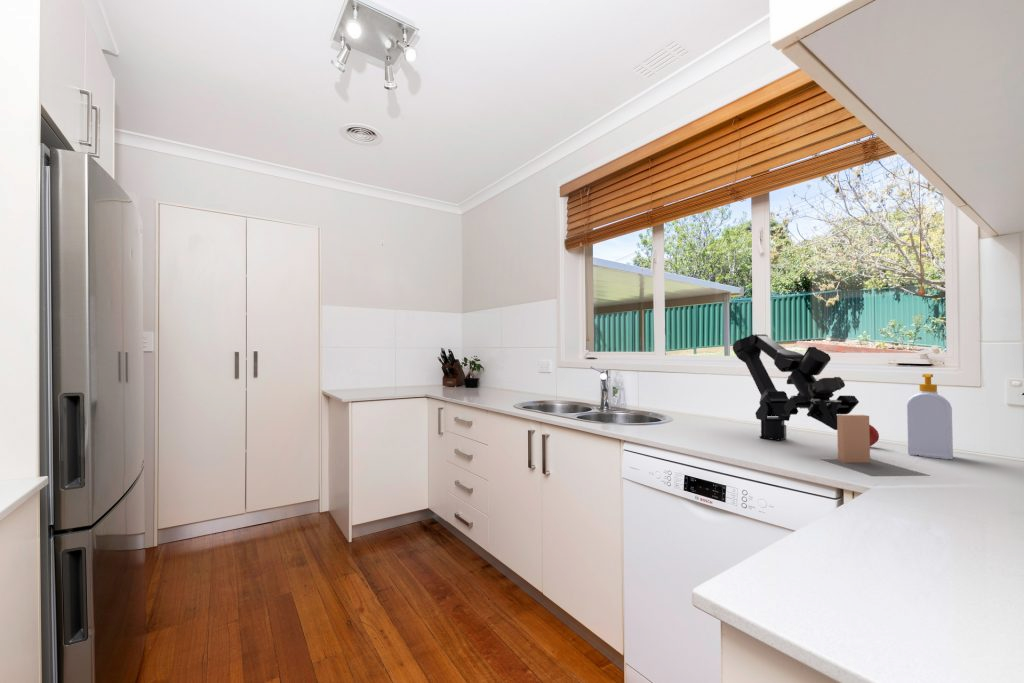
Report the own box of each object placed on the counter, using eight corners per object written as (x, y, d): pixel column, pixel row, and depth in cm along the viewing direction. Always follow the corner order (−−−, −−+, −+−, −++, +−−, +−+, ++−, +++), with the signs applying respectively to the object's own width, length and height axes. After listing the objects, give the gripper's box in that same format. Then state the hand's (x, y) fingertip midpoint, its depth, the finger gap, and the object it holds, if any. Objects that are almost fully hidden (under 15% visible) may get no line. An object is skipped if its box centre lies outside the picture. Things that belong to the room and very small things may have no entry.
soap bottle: (908, 455, 123) (906, 373, 124) (908, 451, 129) (906, 373, 129) (953, 460, 117) (951, 374, 118) (951, 456, 123) (949, 374, 123)
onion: (851, 446, 135) (850, 420, 135) (860, 444, 138) (860, 419, 138) (873, 450, 130) (873, 423, 130) (883, 448, 133) (882, 421, 133)
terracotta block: (837, 460, 115) (837, 414, 116) (863, 460, 116) (862, 414, 116) (844, 462, 113) (843, 415, 114) (870, 462, 114) (869, 415, 114)
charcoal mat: (820, 460, 117) (820, 459, 117) (870, 460, 118) (870, 458, 118) (872, 477, 101) (872, 475, 101) (930, 477, 102) (930, 475, 102)
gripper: (789, 367, 126) (819, 410, 114) (852, 367, 126) (888, 410, 115) (772, 392, 133) (798, 435, 122) (832, 392, 134) (863, 435, 123)
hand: (837, 429), depth 120 cm, fingers closed
